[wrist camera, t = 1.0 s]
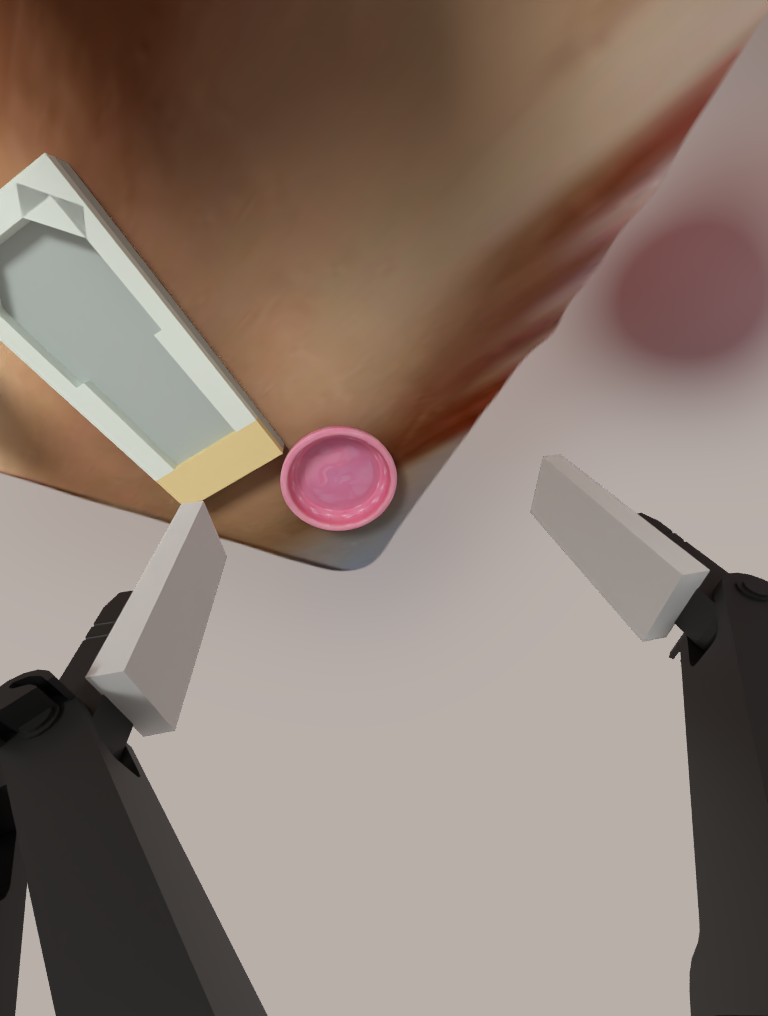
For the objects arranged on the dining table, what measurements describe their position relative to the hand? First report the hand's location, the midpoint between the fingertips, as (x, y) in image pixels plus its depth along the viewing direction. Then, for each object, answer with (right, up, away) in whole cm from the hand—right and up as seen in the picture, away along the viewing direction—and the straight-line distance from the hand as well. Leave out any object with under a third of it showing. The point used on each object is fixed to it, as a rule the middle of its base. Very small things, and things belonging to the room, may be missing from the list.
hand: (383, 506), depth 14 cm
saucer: (-5, +4, +27) cm, 27 cm away
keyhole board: (-21, +12, +18) cm, 30 cm away
